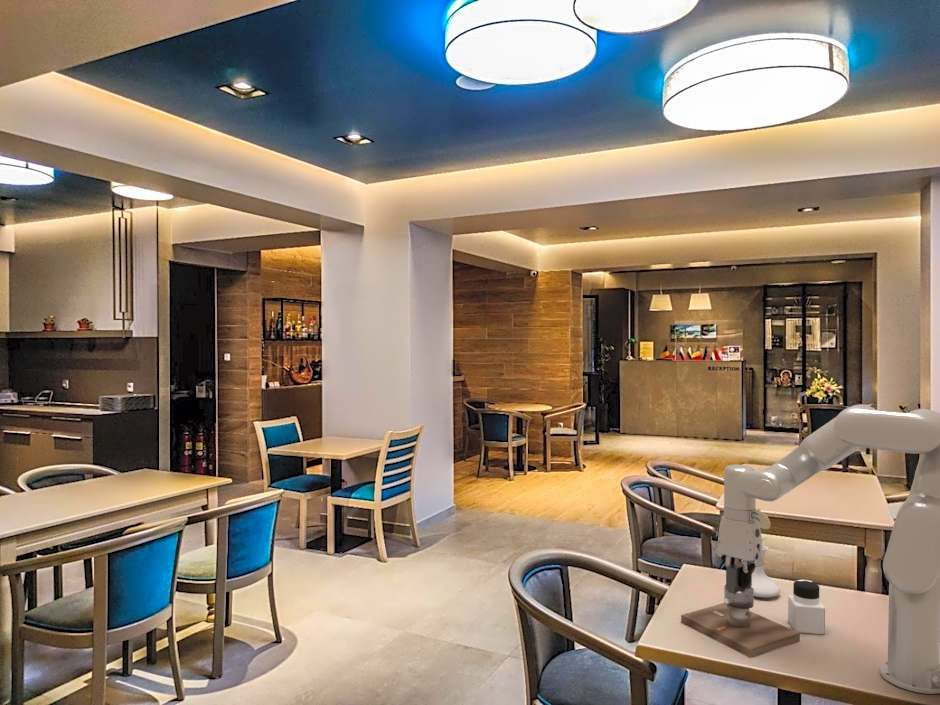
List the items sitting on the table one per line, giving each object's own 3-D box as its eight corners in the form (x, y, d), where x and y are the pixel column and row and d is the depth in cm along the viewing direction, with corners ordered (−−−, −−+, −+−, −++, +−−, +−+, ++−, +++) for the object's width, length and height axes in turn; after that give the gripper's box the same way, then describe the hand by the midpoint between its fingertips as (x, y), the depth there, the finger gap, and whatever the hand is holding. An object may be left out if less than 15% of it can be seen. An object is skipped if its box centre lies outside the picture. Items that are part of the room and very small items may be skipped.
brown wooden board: (799, 640, 166) (800, 613, 166) (750, 657, 158) (750, 628, 158) (728, 608, 186) (728, 583, 186) (681, 622, 177) (681, 596, 177)
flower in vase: (788, 600, 191) (788, 514, 190) (749, 602, 190) (750, 515, 190) (764, 583, 204) (765, 502, 203) (728, 584, 203) (729, 503, 203)
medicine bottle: (825, 635, 169) (825, 588, 169) (795, 632, 171) (795, 586, 171) (816, 623, 176) (817, 578, 176) (787, 620, 178) (787, 576, 178)
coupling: (735, 595, 177) (735, 558, 176) (759, 604, 171) (760, 565, 171) (713, 604, 171) (713, 565, 171) (738, 613, 165) (738, 573, 165)
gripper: (777, 517, 167) (776, 590, 168) (717, 504, 180) (717, 572, 180) (763, 523, 162) (762, 597, 163) (702, 509, 175) (702, 579, 175)
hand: (738, 583), depth 171 cm, fingers closed on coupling, 2 cm apart
